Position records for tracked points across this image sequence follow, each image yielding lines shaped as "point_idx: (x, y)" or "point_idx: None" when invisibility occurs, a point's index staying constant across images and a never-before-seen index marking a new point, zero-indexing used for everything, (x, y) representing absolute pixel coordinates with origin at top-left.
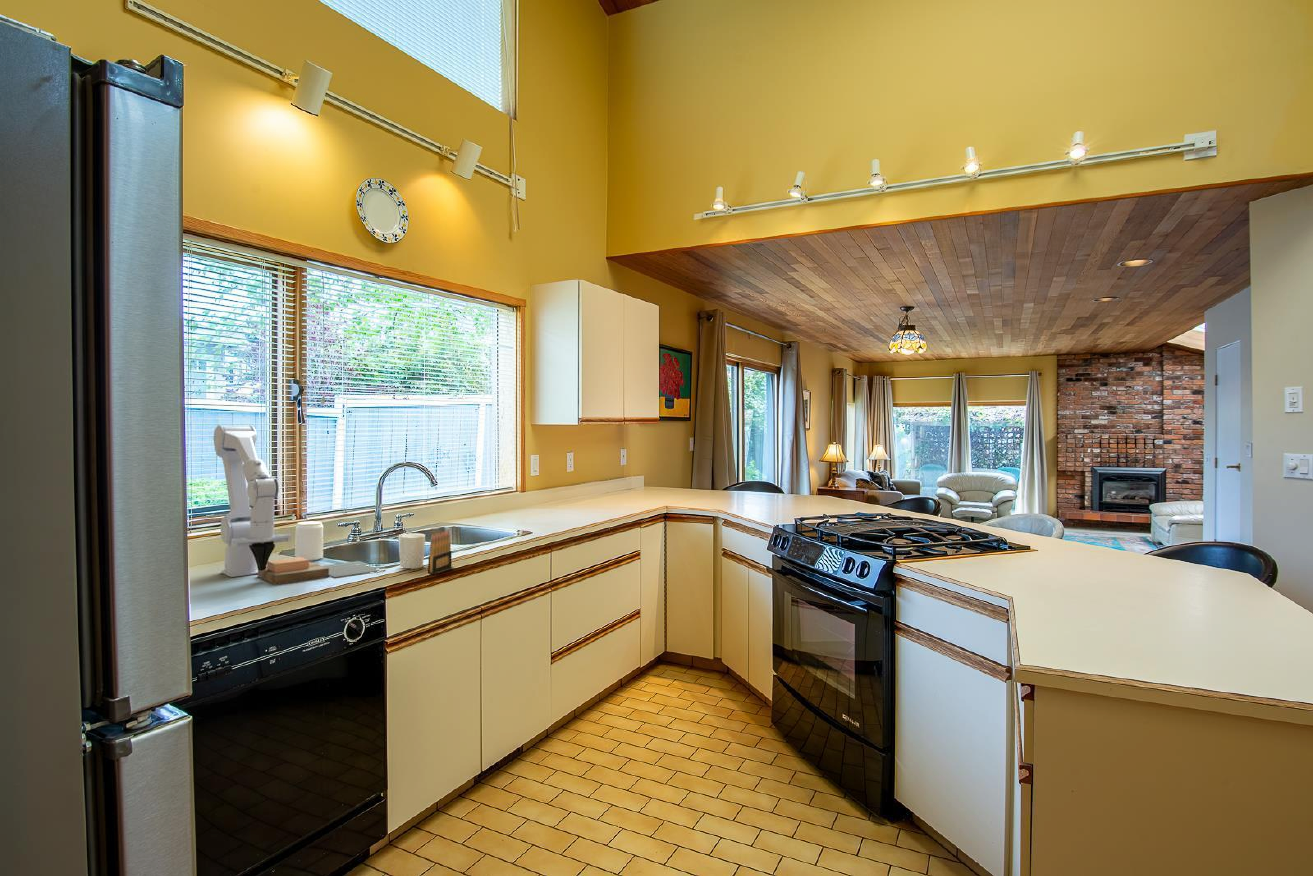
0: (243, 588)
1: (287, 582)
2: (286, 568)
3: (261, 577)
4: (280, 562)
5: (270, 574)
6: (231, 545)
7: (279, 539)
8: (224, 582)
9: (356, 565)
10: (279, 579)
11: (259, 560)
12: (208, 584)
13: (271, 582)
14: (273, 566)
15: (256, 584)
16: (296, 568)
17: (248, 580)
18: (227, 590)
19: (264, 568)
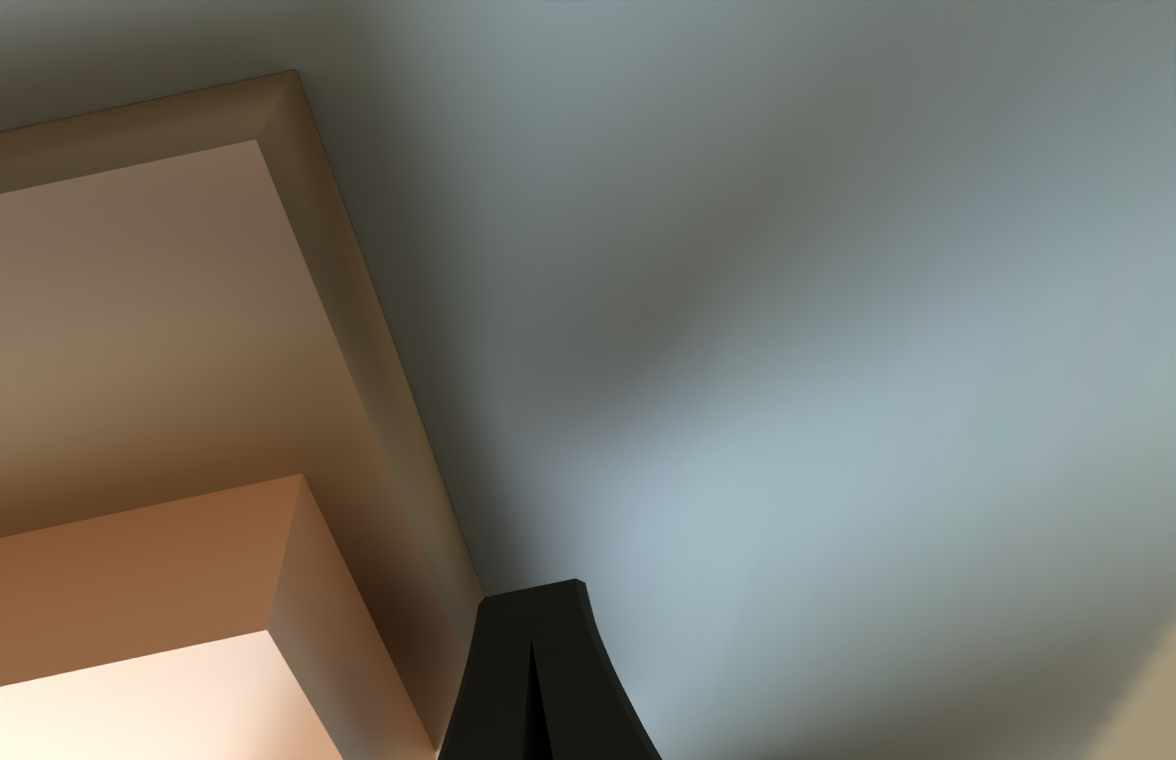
0: (901, 59)
1: (47, 122)
2: (32, 574)
3: None
4: (141, 754)
5: (389, 451)
6: None
7: None
8: (954, 597)
9: None
10: (195, 121)
11: (647, 756)
12: (1134, 566)
13: (380, 308)
14: (312, 629)
15: (632, 295)
16: None
17: (680, 596)
18: (1169, 33)
19: (501, 615)
